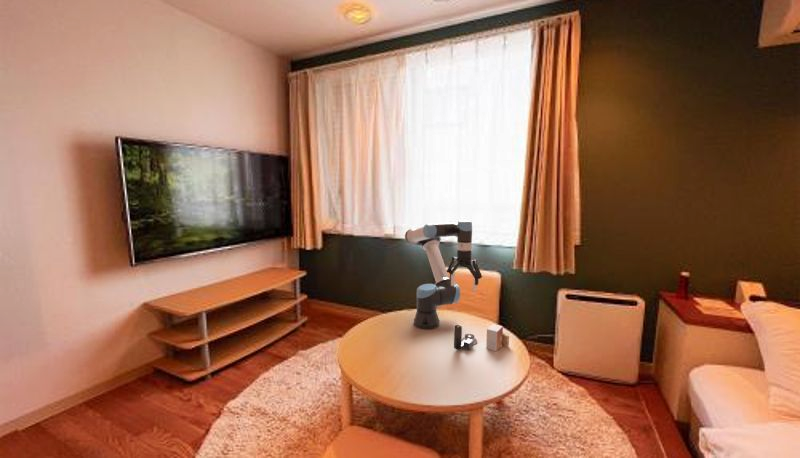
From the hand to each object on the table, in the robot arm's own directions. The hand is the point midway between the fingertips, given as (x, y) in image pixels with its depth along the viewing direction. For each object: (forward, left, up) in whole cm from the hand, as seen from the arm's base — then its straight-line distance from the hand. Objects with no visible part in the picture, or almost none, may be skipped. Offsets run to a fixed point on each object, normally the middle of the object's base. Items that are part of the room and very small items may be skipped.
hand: (463, 287), depth 178 cm
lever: (+11, -9, -26) cm, 29 cm away
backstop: (+19, +8, -27) cm, 34 cm away
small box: (+19, +3, -27) cm, 33 cm away
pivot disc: (+8, -3, -27) cm, 28 cm away
